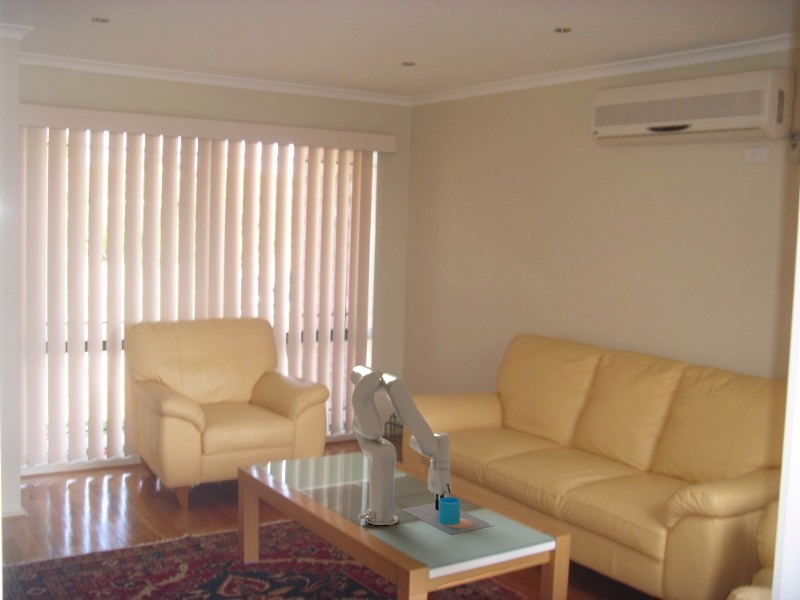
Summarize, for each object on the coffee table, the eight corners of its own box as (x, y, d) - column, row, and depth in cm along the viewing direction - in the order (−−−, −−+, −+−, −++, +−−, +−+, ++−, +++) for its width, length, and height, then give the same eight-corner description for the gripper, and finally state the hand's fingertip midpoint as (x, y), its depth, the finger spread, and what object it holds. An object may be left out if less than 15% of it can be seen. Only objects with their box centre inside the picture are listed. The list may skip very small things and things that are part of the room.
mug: (461, 524, 326) (462, 503, 325) (440, 525, 324) (441, 504, 324) (455, 514, 337) (455, 493, 337) (434, 515, 336) (435, 494, 336)
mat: (451, 534, 314) (451, 534, 314) (400, 509, 343) (400, 509, 343) (493, 525, 325) (493, 525, 325) (441, 501, 354) (441, 501, 354)
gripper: (421, 461, 341) (421, 506, 342) (443, 470, 328) (443, 516, 330) (436, 458, 345) (436, 503, 346) (459, 467, 333) (458, 513, 334)
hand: (439, 509), depth 338 cm, fingers closed
